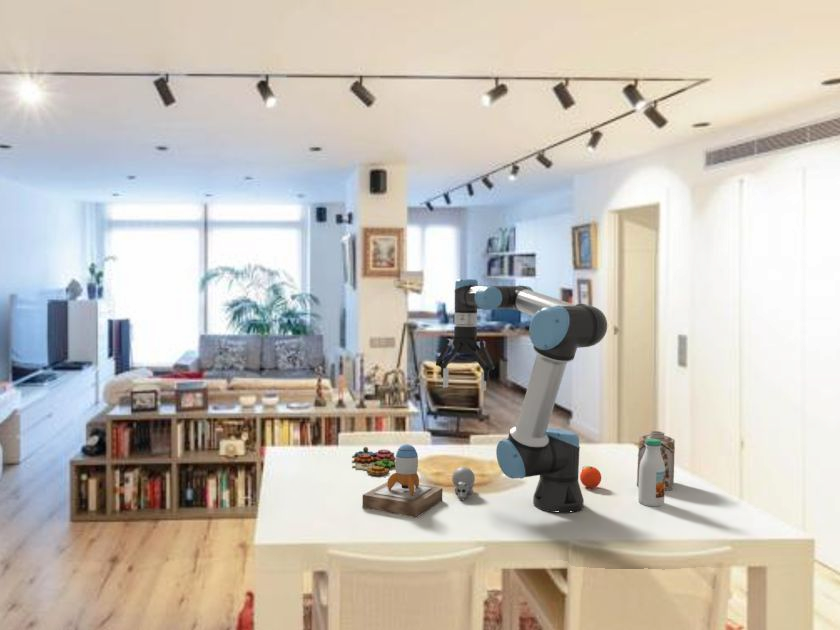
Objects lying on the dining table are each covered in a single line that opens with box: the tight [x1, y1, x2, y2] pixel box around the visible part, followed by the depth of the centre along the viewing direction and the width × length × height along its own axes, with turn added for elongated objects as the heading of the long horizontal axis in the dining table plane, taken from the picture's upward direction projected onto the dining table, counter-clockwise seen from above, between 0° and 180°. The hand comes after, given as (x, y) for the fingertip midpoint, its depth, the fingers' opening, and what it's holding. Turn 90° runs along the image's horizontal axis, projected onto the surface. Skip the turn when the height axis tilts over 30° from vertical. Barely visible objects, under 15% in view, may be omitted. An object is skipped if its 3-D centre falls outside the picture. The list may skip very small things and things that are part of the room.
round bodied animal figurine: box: [451, 466, 476, 501], centre depth 235 cm, size 7×12×8 cm, turn 170°
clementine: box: [579, 465, 602, 489], centre depth 247 cm, size 8×7×7 cm
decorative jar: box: [636, 430, 676, 491], centre depth 251 cm, size 12×12×18 cm
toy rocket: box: [386, 443, 420, 496], centre depth 225 cm, size 10×11×15 cm
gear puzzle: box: [351, 446, 396, 476], centre depth 271 cm, size 31×16×4 cm, turn 5°
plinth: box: [361, 481, 443, 518], centre depth 226 cm, size 18×18×4 cm
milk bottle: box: [637, 438, 666, 507], centre depth 231 cm, size 8×8×20 cm
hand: (464, 389), depth 248 cm, fingers open, 13 cm apart
